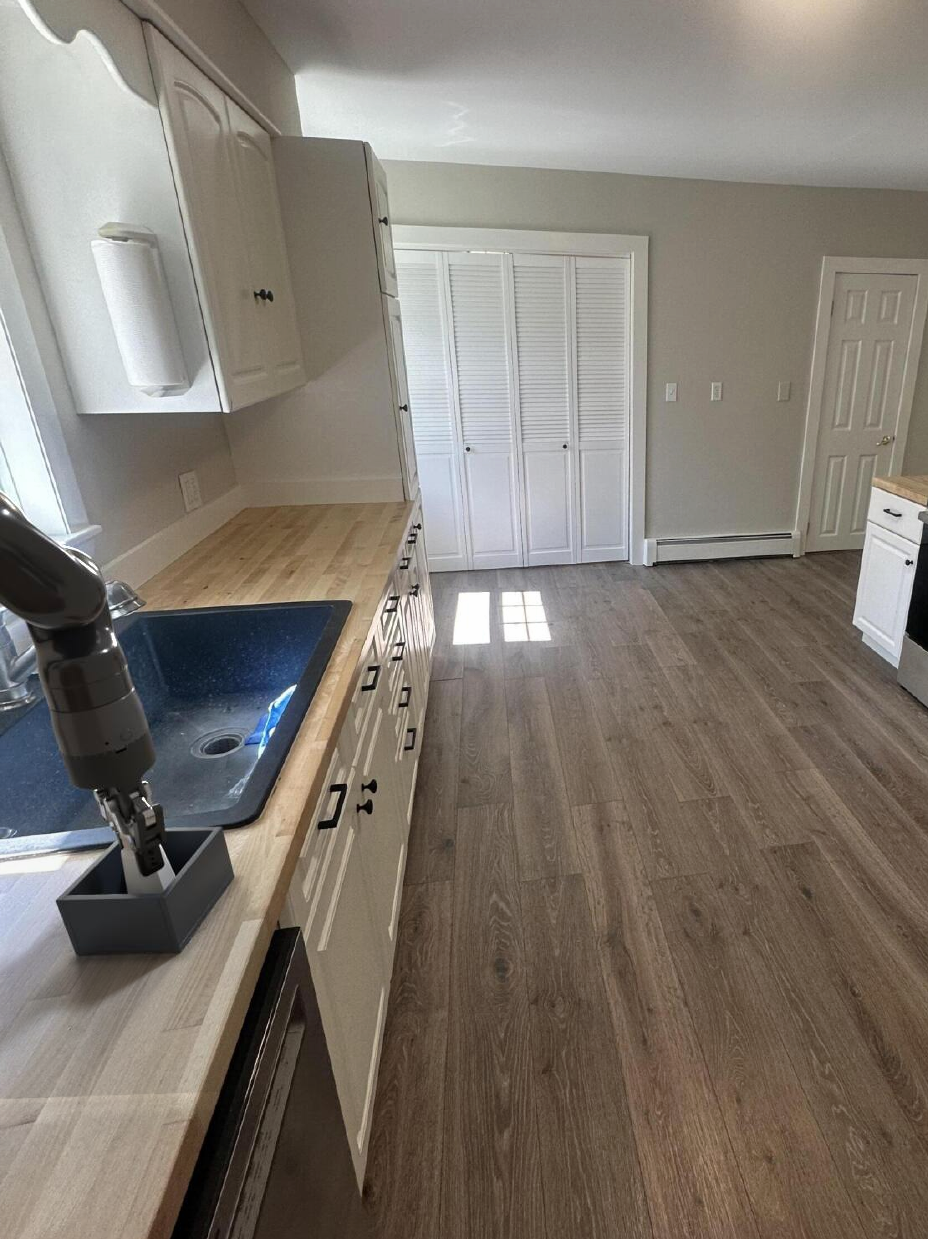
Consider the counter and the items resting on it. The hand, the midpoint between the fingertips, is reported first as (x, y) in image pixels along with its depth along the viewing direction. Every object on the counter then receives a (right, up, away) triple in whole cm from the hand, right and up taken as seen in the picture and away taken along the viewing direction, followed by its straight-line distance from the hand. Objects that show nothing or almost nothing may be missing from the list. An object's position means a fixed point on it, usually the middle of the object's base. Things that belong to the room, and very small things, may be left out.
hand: (144, 862), depth 75 cm
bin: (0, -7, +3) cm, 8 cm away
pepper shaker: (0, -6, +2) cm, 6 cm away
